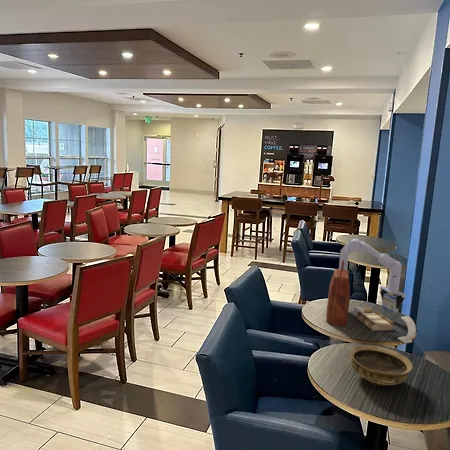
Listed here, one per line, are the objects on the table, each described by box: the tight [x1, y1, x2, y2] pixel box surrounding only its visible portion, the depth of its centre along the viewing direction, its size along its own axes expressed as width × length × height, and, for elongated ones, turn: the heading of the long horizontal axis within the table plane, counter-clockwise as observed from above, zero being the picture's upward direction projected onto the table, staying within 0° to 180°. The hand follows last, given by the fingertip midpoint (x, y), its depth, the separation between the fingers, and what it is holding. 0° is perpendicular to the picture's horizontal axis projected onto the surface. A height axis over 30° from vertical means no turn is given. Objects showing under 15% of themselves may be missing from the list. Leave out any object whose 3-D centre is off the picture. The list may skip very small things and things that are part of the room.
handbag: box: [325, 259, 351, 328], centre depth 225 cm, size 10×19×35 cm, turn 166°
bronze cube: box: [362, 306, 374, 313], centre depth 237 cm, size 4×4×4 cm
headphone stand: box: [397, 315, 417, 344], centre depth 205 cm, size 5×6×12 cm
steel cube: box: [353, 306, 364, 314], centre depth 236 cm, size 4×4×4 cm
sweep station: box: [349, 309, 394, 331], centre depth 228 cm, size 24×12×4 cm, turn 11°
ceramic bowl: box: [349, 344, 413, 387], centre depth 165 cm, size 30×24×10 cm
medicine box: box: [381, 292, 400, 313], centre depth 230 cm, size 8×4×9 cm, turn 34°
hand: (390, 305), depth 231 cm, fingers closed on medicine box, 7 cm apart
